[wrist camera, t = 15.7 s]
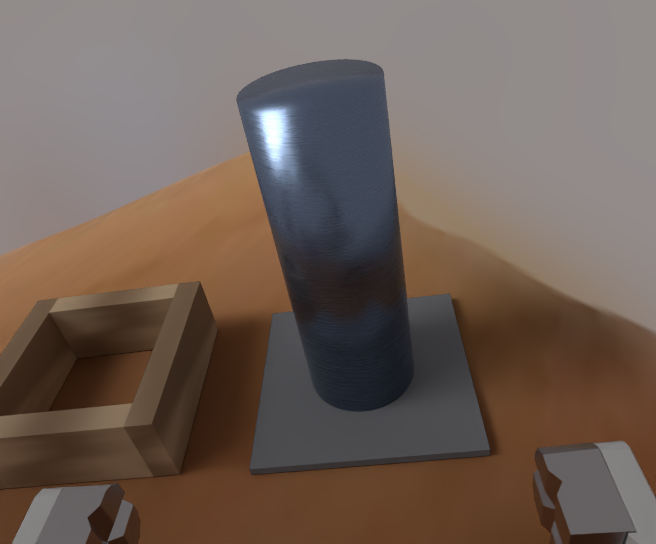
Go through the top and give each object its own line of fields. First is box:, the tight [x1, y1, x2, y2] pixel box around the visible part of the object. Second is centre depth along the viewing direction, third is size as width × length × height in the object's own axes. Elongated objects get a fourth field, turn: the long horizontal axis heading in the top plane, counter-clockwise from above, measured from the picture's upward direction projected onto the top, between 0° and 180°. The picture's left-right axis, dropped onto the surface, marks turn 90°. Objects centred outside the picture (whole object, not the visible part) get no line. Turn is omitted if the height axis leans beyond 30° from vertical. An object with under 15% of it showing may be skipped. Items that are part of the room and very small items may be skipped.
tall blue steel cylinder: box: [236, 59, 414, 412], centre depth 22 cm, size 5×5×14 cm
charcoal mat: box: [250, 294, 490, 475], centre depth 27 cm, size 10×10×1 cm
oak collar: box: [0, 281, 218, 489], centre depth 27 cm, size 9×9×4 cm
